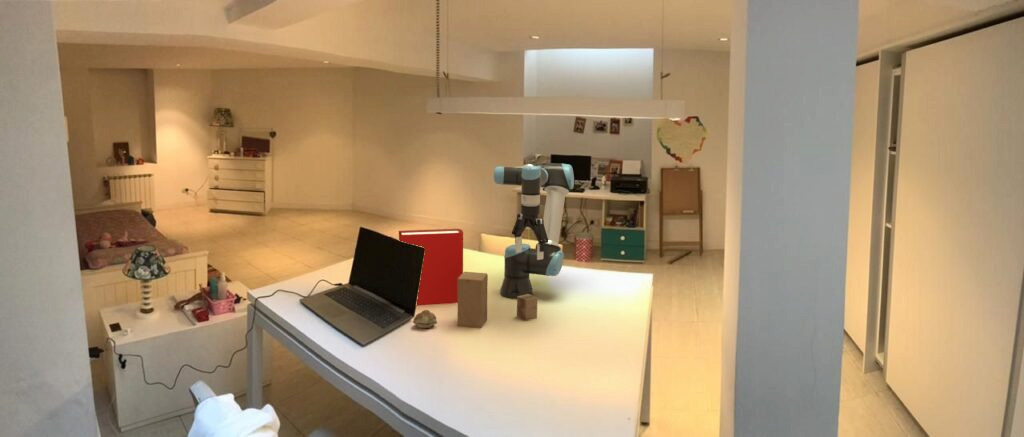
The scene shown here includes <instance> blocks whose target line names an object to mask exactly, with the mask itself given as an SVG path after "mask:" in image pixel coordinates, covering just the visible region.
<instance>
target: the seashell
mask: <svg viewBox="0 0 1024 437" xmlns="http://www.w3.org/2000/svg"><path fill="white" fill-rule="evenodd" d="M412 322H413V324H414V325H415V326H416V327H418V328H419V329H425V328H428V329H429V328H431V327H433V326H434V325H436V324H437V323H438V320H437V317H436V315H435V314H434V313H433V312H431V311H430V310H428V309H424V310H422V311H421V312H419V313H417V314H416V315H415V317H414V318H413V321H412Z"/></svg>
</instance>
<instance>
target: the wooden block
mask: <svg viewBox="0 0 1024 437" xmlns="http://www.w3.org/2000/svg"><path fill="white" fill-rule="evenodd" d="M488 276H489V275H488V273H486V272H475V271H474V272H473V271H463V274H462V275H461V276H460V277H459V278H458V303H457V326H458V327H467V328H469V327H470V328H478V329H479V328H480V329H481V328H483V326H484V325H485V323H486V321H487V320H488Z"/></svg>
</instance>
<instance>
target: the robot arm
mask: <svg viewBox="0 0 1024 437" xmlns="http://www.w3.org/2000/svg"><path fill="white" fill-rule="evenodd" d="M493 181H494V183H495V184H496V185H501V186H521V192H520V193H521V196H520V197H521V200H520V202H521V206H520V213H518V214H517V215H516V219H515V223H514V225H513V227H512V231H511V235H514V238H515V240H514V243H515V244H511V245H509V246H507V247H505V249H504V256H503V258H504V269H503V270H504V275H503V277H504V278H503V281H502V284H501V287H500V289H499V290H500V292H499V294H500V295H501V296H502V297H505V298H509V299H516V300H517V296H521V295H525V294H530V295H532V296H533V293H534V289H533V286H532V283H531V279H530V274H531V275H537V276H539V275H540V276H546V277H556V276H558V275H559V274H560V272H561V270H562V268H563V264H564V257H565V254H564V251H562V247H561V246H560V244H559V241H560V236H561V229H562V228H561V227H562V220H563V212H564V206H565V200H566V196H567V195H569V192H570V190H572V189H574V187H575V186H574V185H575V176H574V170H573V166H572V165H571V164H567V163H562V162H561V163H554V162H553V163H552V162H534V163H527V164H523V165H522V166H504V165H503V166H497V167H495V169H494V171H493ZM541 188H544V191H545V193H546V199H545V204H544V212H543V218H538V216H539V214H540V213H541V212H540V210H541V209H540V207H541V206H540V204H541ZM527 228H530V229H531V230H532V232H533V233H534V236H535V238H536V240H537V243H536V245H535V248H531V245H530V244H529V243H528V244H527V243H523V237H522V236H523V235H522V234H523V233H524V232H525V230H526V229H527Z"/></svg>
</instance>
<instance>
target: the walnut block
mask: <svg viewBox="0 0 1024 437" xmlns="http://www.w3.org/2000/svg"><path fill="white" fill-rule="evenodd" d="M516 318H518V319H520V320H522V321H525V322H528V321H531V320H535V319H537V318H538V297H537V296H535V295H533V294H532V295H530V294H525V295H521V296H517V299H516Z"/></svg>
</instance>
